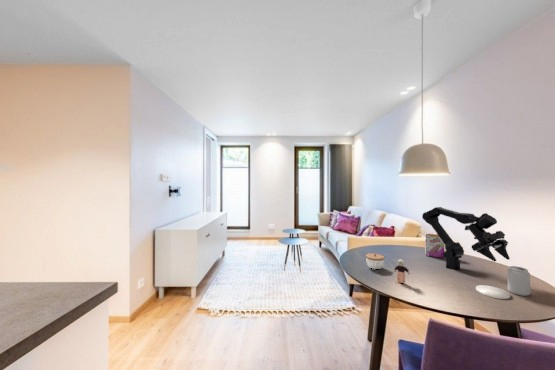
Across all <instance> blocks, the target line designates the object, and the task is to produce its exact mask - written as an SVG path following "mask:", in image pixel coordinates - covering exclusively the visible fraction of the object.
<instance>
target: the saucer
mask: <svg viewBox="0 0 555 370" xmlns="http://www.w3.org/2000/svg"><path fill="white" fill-rule="evenodd" d="M475 290H476V292H477V293H479V294H481V295H484V296H485V295H486V296H485V297H488V298H493V299H498V300H508V299H510V298H511V294H510V293H509V292H508V291H506V290H505V289H502V288H499V287H496V286H492V285H486V284H479V285H476V286H475Z"/></svg>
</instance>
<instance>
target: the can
mask: <svg viewBox="0 0 555 370" xmlns="http://www.w3.org/2000/svg"><path fill="white" fill-rule="evenodd" d="M506 272H507V274H506V275H507V290H508V291H509V292H510V293H512V294H514V295H517V296H523V297H527V296H529V295H531V273H530V272H529V270H528V268H527V269H526V268H524V267H522V266H516V265H512V266H511V265H509V266H508V269H507V271H506Z"/></svg>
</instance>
